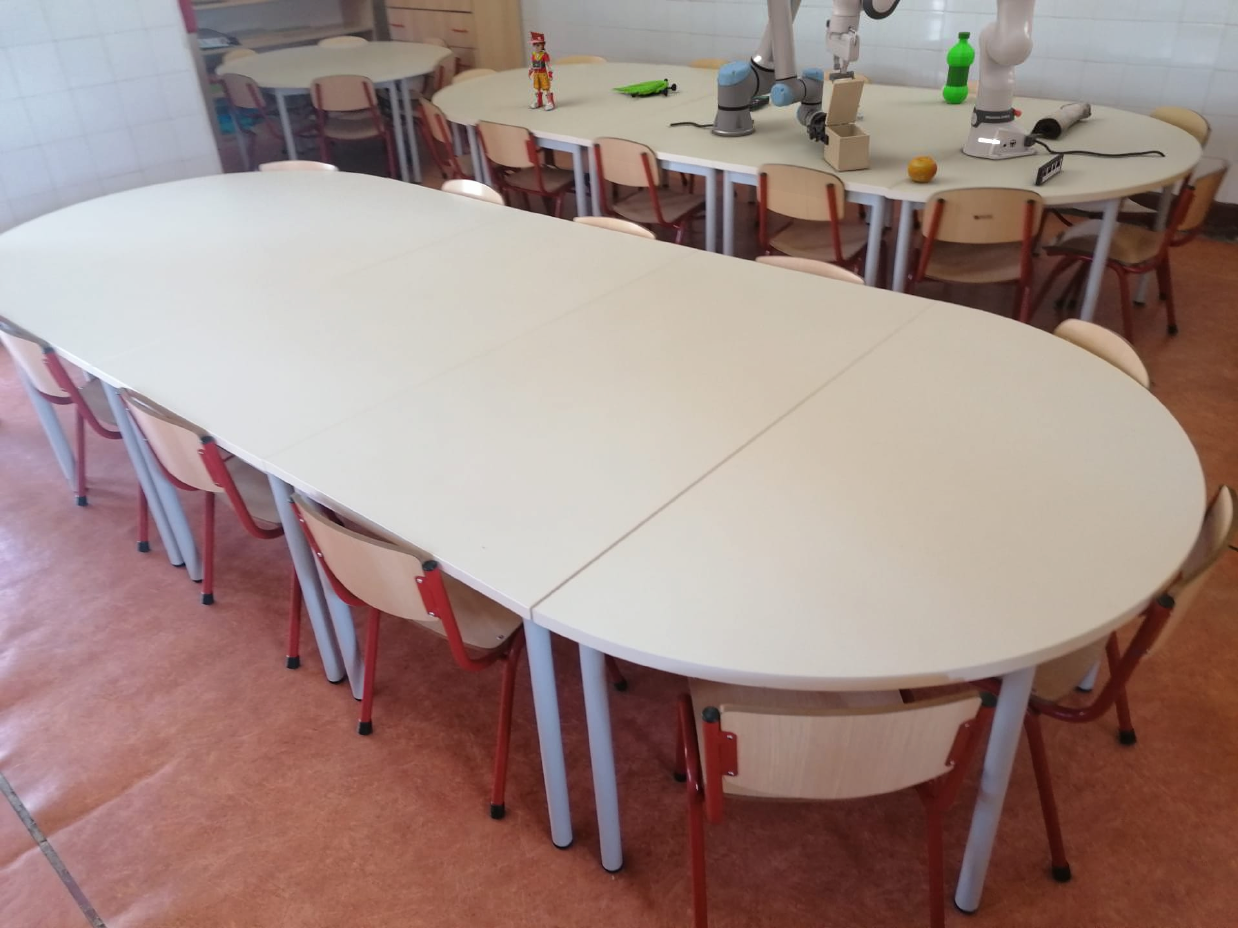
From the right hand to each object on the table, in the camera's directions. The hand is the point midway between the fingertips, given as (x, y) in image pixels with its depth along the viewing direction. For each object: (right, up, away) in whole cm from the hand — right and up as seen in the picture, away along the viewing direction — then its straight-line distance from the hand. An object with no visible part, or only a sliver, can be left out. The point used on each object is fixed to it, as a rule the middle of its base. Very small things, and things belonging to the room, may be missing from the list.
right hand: (839, 71), depth 291 cm
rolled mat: (+85, -9, +26) cm, 89 cm away
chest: (+3, -28, +6) cm, 29 cm away
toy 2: (-62, +37, +106) cm, 129 cm away
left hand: (+3, -20, +5) cm, 21 cm away
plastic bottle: (+61, +16, +64) cm, 90 cm away
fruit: (+22, -39, -12) cm, 47 cm away
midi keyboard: (+60, -40, -16) cm, 74 cm away
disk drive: (-18, +19, +75) cm, 80 cm away
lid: (+2, -11, -1) cm, 11 cm away
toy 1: (-104, +25, +92) cm, 141 cm away
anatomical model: (+15, +6, +55) cm, 57 cm away
